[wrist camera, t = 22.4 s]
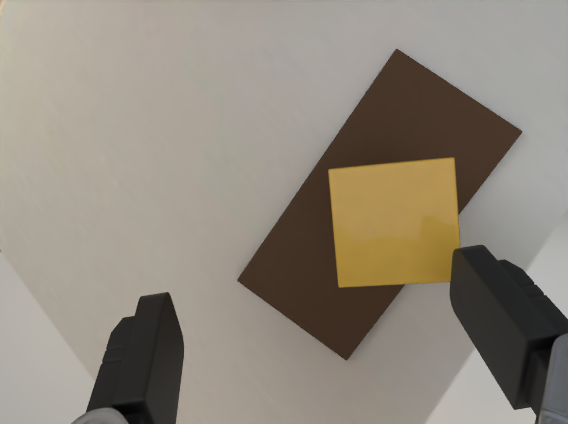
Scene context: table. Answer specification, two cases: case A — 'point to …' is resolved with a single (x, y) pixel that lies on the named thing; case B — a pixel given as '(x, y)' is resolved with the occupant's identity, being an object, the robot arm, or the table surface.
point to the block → (395, 222)
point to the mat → (358, 152)
